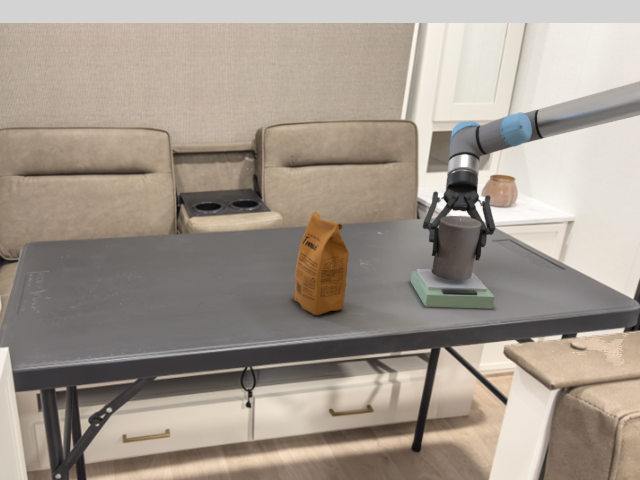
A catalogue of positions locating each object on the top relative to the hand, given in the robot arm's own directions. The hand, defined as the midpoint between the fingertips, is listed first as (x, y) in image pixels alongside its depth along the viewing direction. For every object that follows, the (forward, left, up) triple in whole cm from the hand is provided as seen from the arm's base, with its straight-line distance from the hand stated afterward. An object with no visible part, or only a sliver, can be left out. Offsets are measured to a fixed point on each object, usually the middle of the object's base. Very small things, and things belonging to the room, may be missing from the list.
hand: (455, 255), depth 141 cm
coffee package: (-7, +33, -11) cm, 36 cm away
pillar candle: (+3, -1, -6) cm, 7 cm away
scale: (+2, -1, -11) cm, 11 cm away
